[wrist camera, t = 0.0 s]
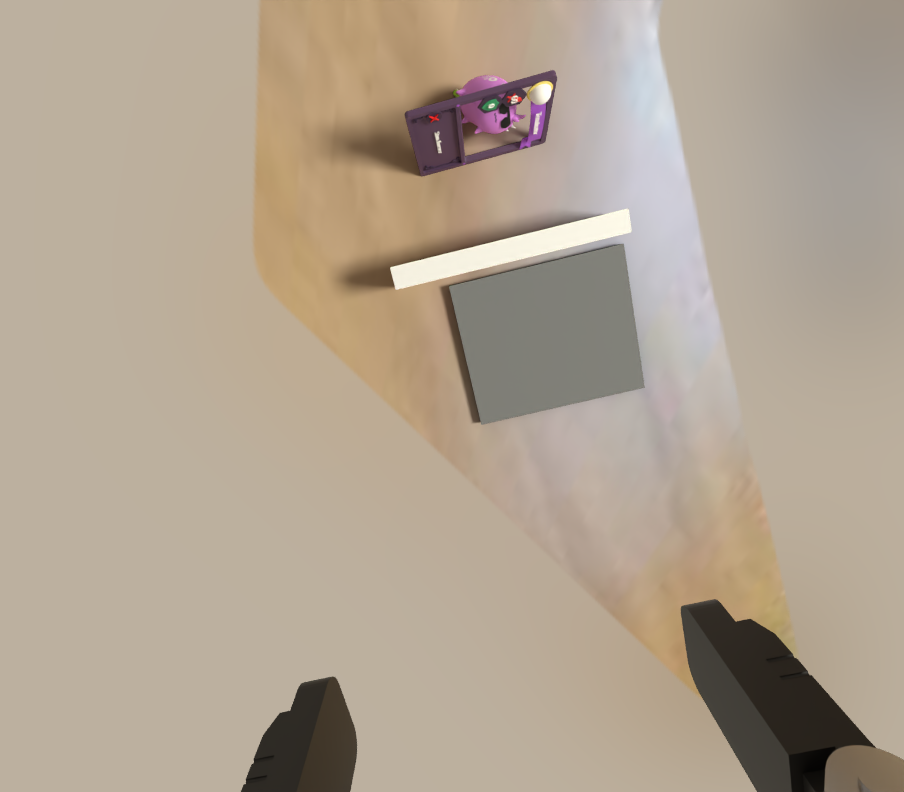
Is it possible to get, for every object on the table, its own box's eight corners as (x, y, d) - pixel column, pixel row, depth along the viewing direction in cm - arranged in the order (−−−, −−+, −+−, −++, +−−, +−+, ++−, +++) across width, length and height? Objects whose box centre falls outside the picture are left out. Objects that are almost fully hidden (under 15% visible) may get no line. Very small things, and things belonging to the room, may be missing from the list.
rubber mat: (448, 286, 38) (448, 286, 37) (620, 244, 37) (623, 243, 37) (480, 422, 41) (481, 424, 40) (641, 385, 40) (644, 387, 39)
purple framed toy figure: (408, 129, 29) (560, 87, 29) (388, 48, 30) (537, 5, 29) (423, 186, 36) (547, 152, 36) (406, 119, 37) (529, 84, 36)
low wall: (395, 267, 38) (390, 267, 34) (609, 214, 37) (628, 208, 33) (401, 287, 38) (395, 289, 34) (612, 235, 37) (631, 232, 33)
